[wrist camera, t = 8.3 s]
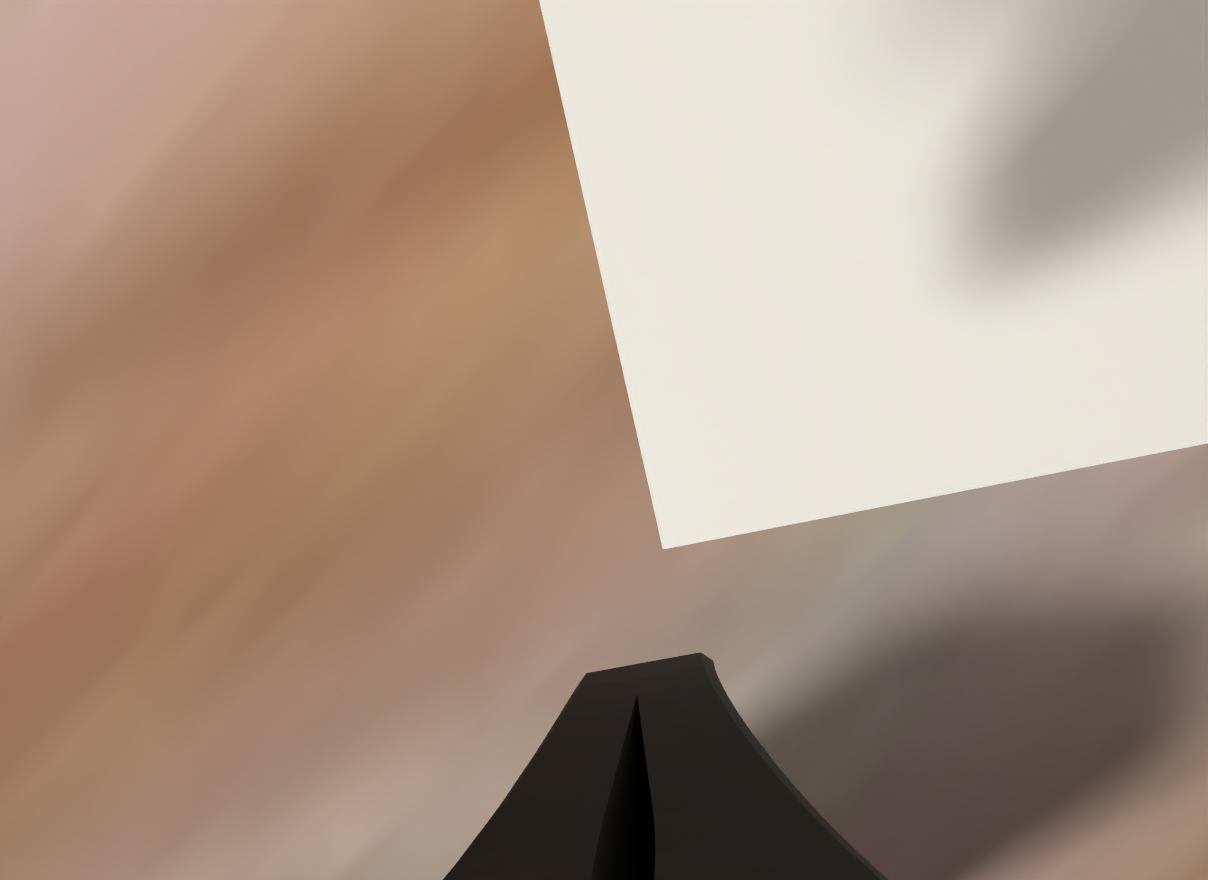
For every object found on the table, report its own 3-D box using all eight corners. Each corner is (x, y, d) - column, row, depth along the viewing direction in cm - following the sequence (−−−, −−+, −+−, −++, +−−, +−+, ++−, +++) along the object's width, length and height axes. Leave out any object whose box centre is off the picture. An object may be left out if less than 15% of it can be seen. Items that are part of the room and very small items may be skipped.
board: (1245, -486, 14) (1342, -590, 12) (1267, 389, 18) (1344, 416, 16) (486, -268, 15) (464, -332, 13) (660, 510, 19) (663, 549, 17)
